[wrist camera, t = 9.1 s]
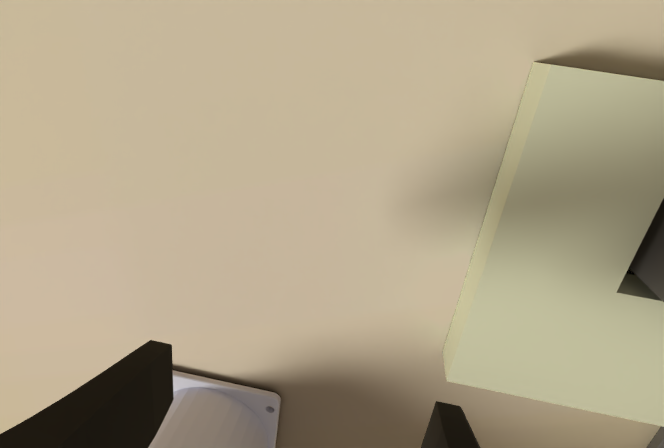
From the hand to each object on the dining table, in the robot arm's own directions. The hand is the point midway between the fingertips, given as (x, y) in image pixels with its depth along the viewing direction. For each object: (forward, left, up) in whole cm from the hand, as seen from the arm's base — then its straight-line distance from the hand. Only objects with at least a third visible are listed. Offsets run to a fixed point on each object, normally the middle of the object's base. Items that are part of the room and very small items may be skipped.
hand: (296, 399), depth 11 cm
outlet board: (+2, -13, -9) cm, 16 cm away
